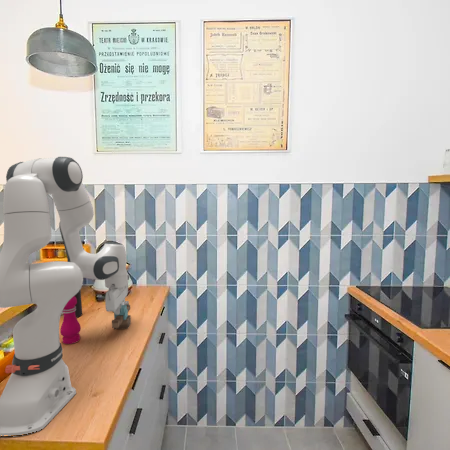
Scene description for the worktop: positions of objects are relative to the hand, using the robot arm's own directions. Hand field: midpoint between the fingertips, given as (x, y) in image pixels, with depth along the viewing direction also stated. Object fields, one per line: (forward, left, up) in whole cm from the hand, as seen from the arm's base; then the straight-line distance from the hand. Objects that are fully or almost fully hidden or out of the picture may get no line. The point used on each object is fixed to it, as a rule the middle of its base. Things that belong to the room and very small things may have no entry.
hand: (118, 313), depth 131 cm
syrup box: (+23, +7, -8) cm, 26 cm away
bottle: (+18, +26, -8) cm, 33 cm away
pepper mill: (-7, +17, -8) cm, 20 cm away
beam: (+4, 0, -8) cm, 9 cm away
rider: (+3, 0, -3) cm, 5 cm away
